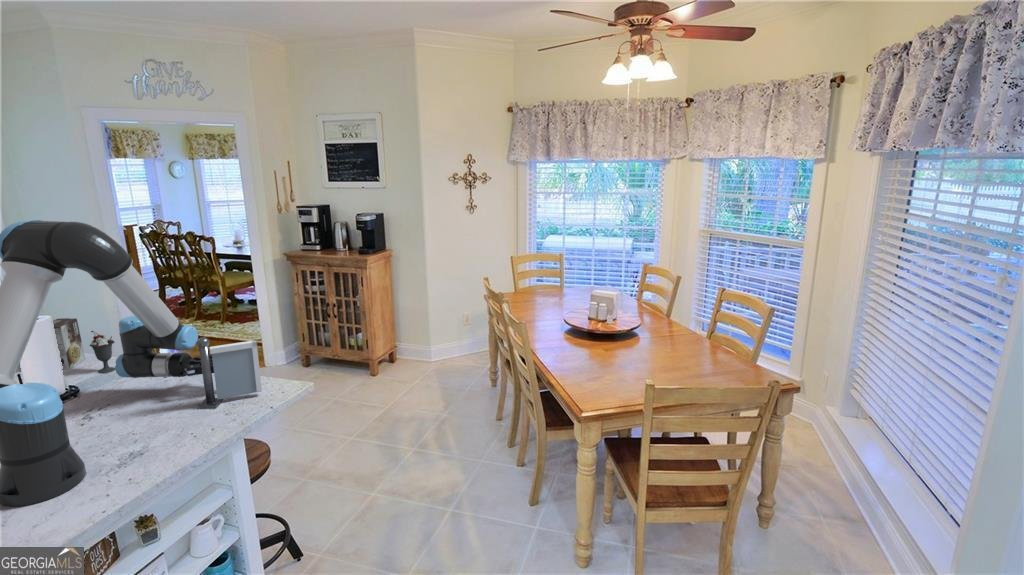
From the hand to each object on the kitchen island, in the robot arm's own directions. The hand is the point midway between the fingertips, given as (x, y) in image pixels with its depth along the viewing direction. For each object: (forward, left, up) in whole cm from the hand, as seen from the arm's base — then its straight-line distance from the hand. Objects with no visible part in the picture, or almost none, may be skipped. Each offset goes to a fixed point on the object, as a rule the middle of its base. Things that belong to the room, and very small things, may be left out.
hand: (251, 363), depth 164 cm
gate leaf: (-5, -4, -8) cm, 10 cm away
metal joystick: (-13, -3, -9) cm, 16 cm away
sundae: (-35, +47, -9) cm, 59 cm away
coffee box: (-45, +61, -9) cm, 76 cm away
